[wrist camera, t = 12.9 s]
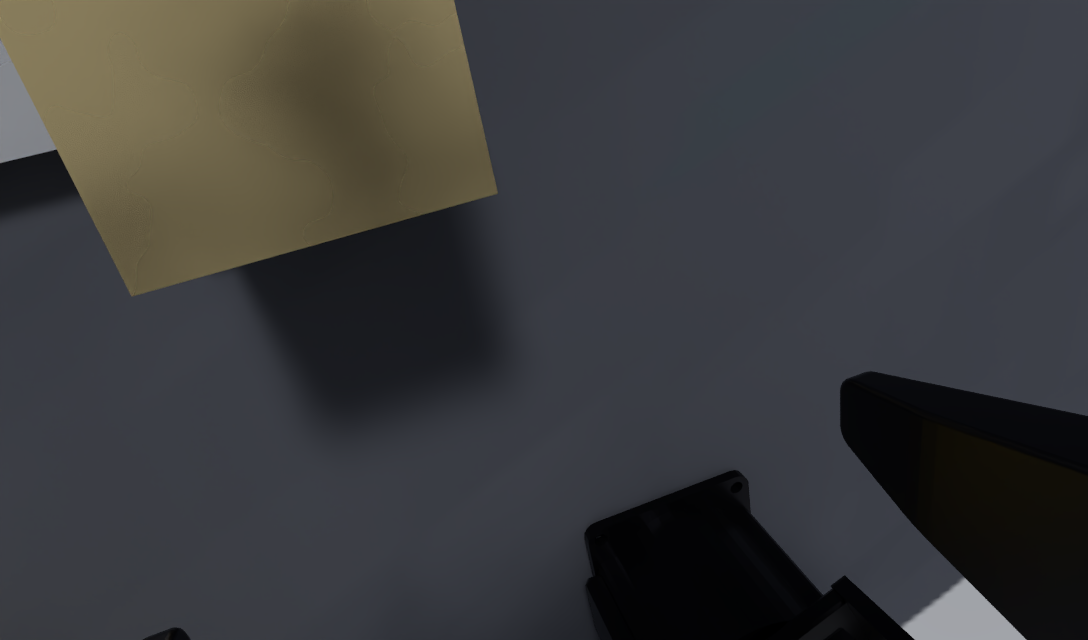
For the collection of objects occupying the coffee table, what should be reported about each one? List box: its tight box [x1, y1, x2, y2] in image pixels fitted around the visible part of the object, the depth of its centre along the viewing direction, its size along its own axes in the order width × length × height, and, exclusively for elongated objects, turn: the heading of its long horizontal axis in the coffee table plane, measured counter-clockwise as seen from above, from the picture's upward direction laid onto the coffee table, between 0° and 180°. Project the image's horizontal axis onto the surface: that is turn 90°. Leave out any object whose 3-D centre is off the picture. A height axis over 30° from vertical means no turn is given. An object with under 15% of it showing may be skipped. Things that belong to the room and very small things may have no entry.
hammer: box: [0, 39, 57, 163], centre depth 14 cm, size 17×7×4 cm, turn 102°
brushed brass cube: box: [0, 0, 498, 296], centre depth 13 cm, size 6×6×6 cm
